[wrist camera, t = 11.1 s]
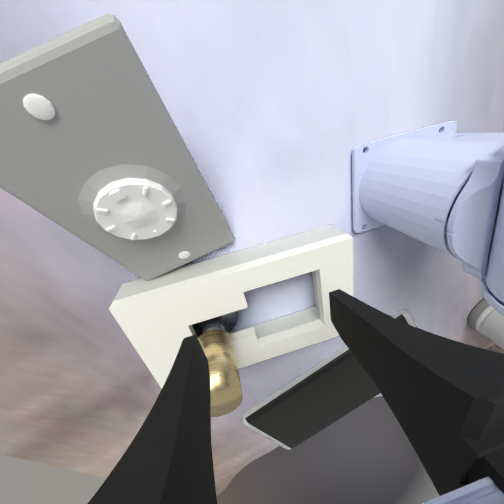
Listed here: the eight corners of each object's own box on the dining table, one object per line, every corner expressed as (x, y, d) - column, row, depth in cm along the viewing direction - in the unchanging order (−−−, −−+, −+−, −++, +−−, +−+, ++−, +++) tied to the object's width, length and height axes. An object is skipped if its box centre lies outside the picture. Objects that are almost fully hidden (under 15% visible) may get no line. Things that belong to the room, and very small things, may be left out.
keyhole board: (331, 224, 22) (353, 237, 19) (336, 309, 27) (353, 331, 24) (122, 283, 21) (108, 309, 18) (169, 362, 26) (164, 392, 23)
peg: (239, 291, 24) (261, 376, 15) (230, 328, 25) (245, 420, 17) (190, 288, 22) (185, 378, 14) (185, 326, 24) (177, 426, 16)
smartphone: (424, 352, 36) (434, 361, 35) (285, 440, 39) (289, 452, 38) (400, 303, 30) (411, 312, 29) (238, 412, 33) (240, 425, 32)
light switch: (148, 291, 20) (-123, 133, 8) (141, 240, 23) (-56, 72, 11) (239, 249, 20) (115, 22, 8) (220, 204, 23) (111, -6, 11)
